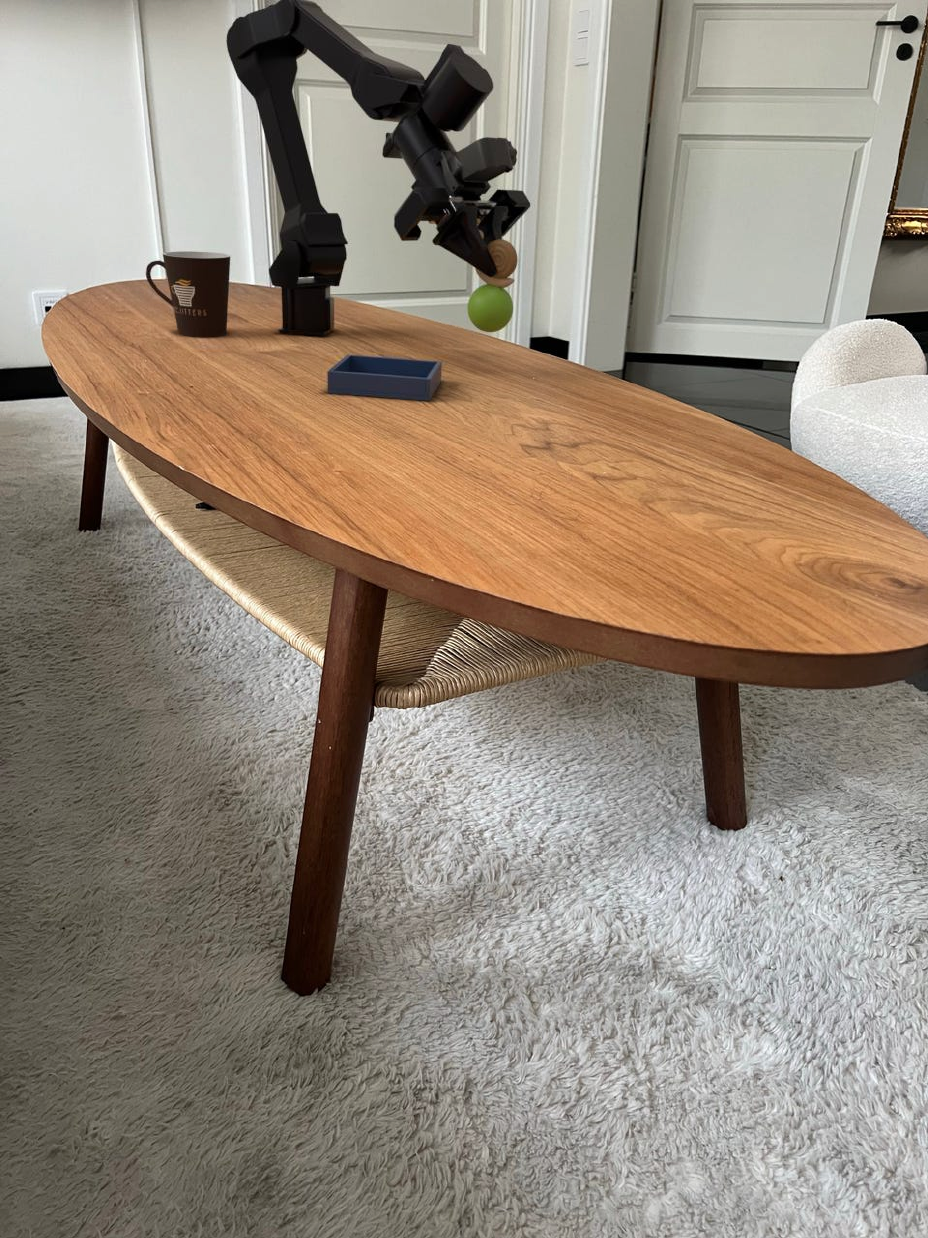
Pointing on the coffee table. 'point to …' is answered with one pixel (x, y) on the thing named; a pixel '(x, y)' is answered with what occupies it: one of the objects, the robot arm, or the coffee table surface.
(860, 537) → the coffee table surface
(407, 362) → the blue tray
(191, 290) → the coffee mug
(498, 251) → the snail figurine
